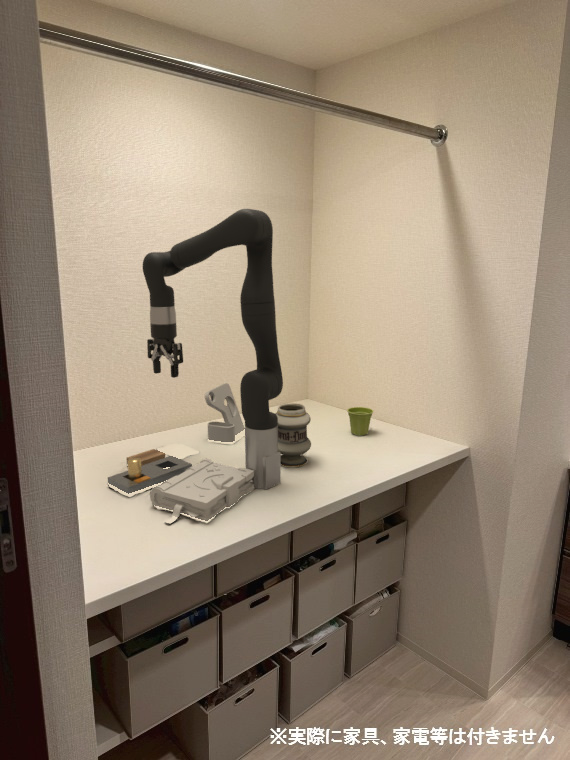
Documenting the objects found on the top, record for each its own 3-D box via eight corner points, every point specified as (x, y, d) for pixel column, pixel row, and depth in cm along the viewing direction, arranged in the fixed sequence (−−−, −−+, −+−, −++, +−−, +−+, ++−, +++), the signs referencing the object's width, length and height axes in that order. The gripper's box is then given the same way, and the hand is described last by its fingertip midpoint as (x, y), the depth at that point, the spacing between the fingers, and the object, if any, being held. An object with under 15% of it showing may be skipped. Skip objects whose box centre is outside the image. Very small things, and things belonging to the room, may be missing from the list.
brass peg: (145, 486, 154) (143, 459, 152) (134, 490, 152) (132, 463, 150) (137, 482, 157) (136, 456, 155) (126, 486, 154) (125, 460, 152)
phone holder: (231, 445, 186) (229, 394, 182) (204, 442, 190) (203, 392, 186) (251, 430, 202) (251, 383, 198) (227, 427, 206) (226, 380, 201)
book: (135, 516, 137) (134, 488, 136) (201, 476, 162) (201, 452, 160) (198, 536, 129) (197, 507, 127) (258, 491, 153) (258, 465, 151)
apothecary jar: (264, 461, 173) (264, 406, 169) (291, 451, 181) (291, 399, 177) (292, 471, 165) (292, 414, 160) (318, 461, 173) (319, 406, 169)
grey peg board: (192, 473, 163) (192, 462, 163) (128, 497, 147) (127, 486, 146) (171, 464, 170) (171, 454, 169) (108, 487, 154) (107, 476, 153)
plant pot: (345, 428, 204) (346, 406, 202) (371, 429, 204) (371, 406, 202) (347, 437, 195) (348, 414, 193) (373, 437, 195) (374, 414, 193)
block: (165, 462, 172) (165, 453, 171) (138, 471, 164) (137, 462, 164) (154, 457, 175) (153, 448, 175) (127, 466, 168) (126, 457, 167)
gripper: (188, 322, 160) (190, 376, 163) (159, 318, 169) (161, 369, 172) (167, 325, 154) (170, 381, 158) (138, 320, 163) (141, 373, 167)
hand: (165, 375), depth 165 cm, fingers open, 8 cm apart
